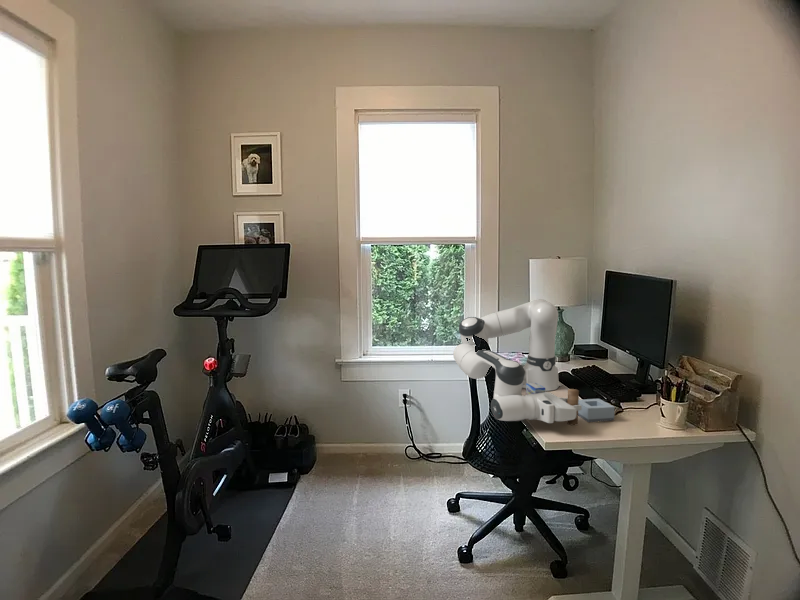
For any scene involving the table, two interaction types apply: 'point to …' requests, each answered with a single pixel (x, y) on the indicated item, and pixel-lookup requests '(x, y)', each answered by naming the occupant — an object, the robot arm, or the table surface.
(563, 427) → the table surface
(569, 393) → the dowel
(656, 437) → the table surface
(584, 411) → the socket block
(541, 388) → the medicine box
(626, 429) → the table surface
